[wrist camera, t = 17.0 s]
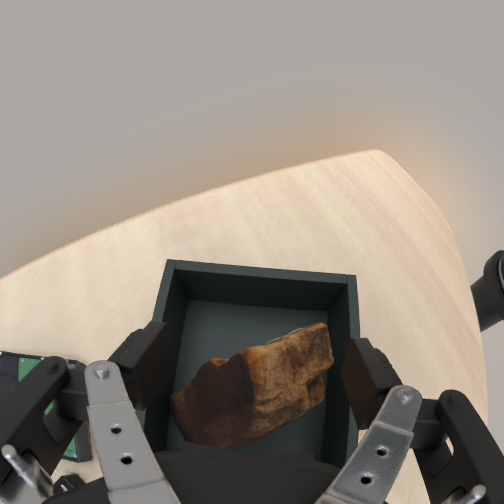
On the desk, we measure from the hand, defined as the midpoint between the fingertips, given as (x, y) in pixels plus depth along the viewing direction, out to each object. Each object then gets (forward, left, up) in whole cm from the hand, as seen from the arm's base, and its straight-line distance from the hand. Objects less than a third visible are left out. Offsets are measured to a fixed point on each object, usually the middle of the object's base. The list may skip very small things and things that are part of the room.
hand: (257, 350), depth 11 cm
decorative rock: (0, +2, -12) cm, 12 cm away
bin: (0, +1, -12) cm, 13 cm away
